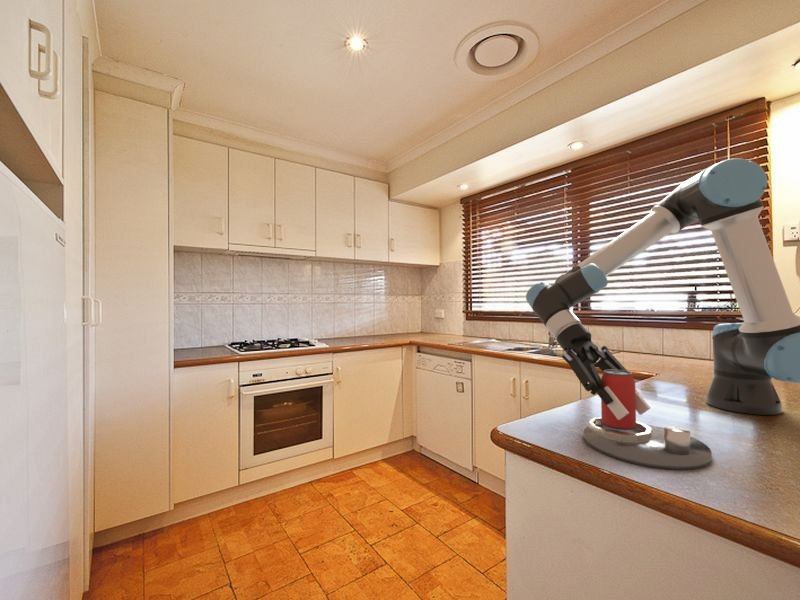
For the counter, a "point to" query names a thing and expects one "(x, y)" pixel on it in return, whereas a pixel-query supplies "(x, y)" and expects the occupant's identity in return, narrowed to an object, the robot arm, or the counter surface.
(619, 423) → the beer can
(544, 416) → the counter surface
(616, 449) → the carrier plate
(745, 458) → the counter surface
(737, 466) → the counter surface
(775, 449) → the counter surface
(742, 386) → the robot arm
